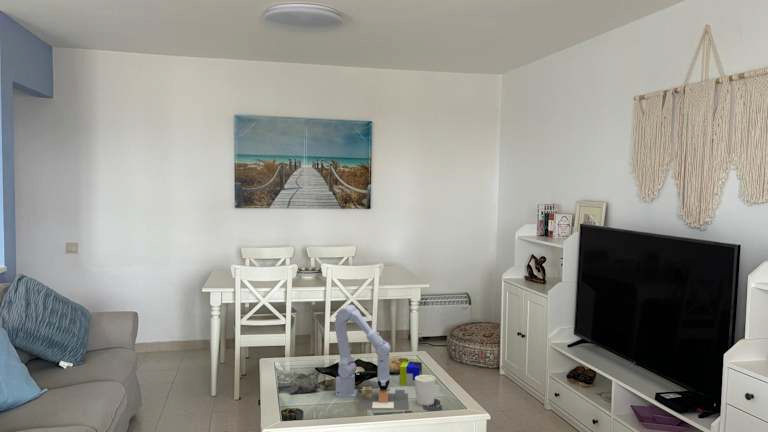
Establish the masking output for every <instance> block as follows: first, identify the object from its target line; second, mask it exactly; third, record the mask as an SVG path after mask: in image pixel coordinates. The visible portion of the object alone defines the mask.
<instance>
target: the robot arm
mask: <svg viewBox="0 0 768 432" xmlns="http://www.w3.org/2000/svg"><path fill="white" fill-rule="evenodd" d="M348 322H350V323H355V324H357V326H358V327H359V328H360V329H361V330H362V331H363V333H365V335H366V339H367V340H368V342H369V343H370V344H371V346H372V347H373V348H374V349H375V353H376V355H377V377H376V378H377V385H378V387H379V390H388V386H389V385H390V380H392V379H393V377H392V376H390V371H389V359H390V353H391V350H392V347H391V344H390V343H389V342H388V341H386V340H384V339H383V337H381V335H380V332H378V331H377V330H373V329H372V328H371V326H370V325H369V324H368V323H367V321H366V320H365V318H364V317H363V316H362V314H361V312H360V310H359V309H357V307H356V306H355V305H354V304H347V306H345V307H341V308H340V309H339V310H338V311H337V312H336V318H335V320H334V329H335V335H336V341H337V346H338V354H339V362H338V368H337V369H338V370H337V373H338V375H339V376H336V377H335V397H338V398H339V397H341V398H345V397H346V398H349V397H350V398H353V397H354V398H355V397H356V393H357V391H356V389H355V388H356V387H355V386H356V382H355V378H356V375H355V372H356V371H357V363H355V360H354V358H353V356H352V354H351V348H350V343H349V342H350V341H349V337H348V331H347V324H348Z"/></svg>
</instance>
